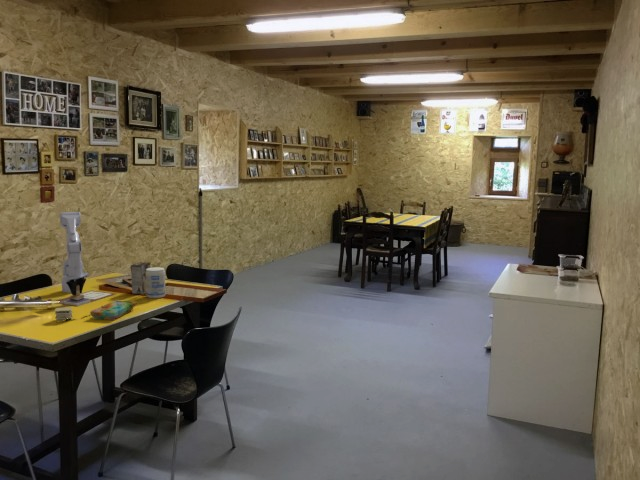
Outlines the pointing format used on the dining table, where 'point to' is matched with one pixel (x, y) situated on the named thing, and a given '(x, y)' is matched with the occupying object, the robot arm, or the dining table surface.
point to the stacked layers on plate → (63, 313)
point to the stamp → (77, 295)
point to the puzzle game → (113, 310)
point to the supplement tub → (155, 282)
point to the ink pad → (77, 302)
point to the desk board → (84, 298)
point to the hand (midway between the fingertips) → (76, 293)
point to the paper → (94, 295)
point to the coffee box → (139, 277)
